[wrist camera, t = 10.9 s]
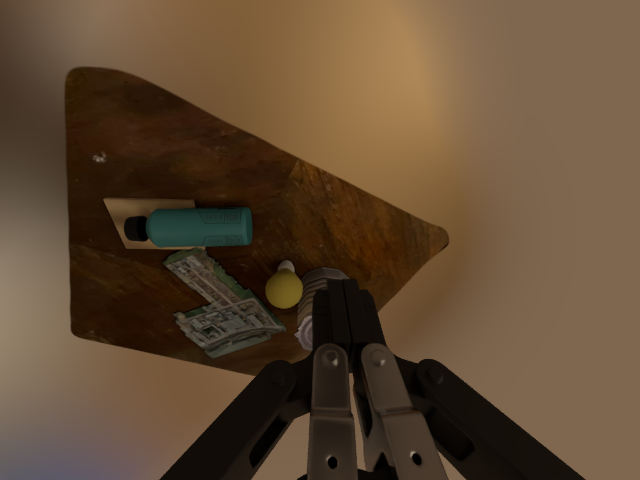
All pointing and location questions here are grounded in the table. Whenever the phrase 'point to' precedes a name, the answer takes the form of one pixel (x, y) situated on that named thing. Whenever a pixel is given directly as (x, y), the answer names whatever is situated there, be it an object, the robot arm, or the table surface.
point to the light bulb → (284, 287)
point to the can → (310, 285)
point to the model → (220, 306)
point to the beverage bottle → (192, 227)
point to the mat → (142, 207)
